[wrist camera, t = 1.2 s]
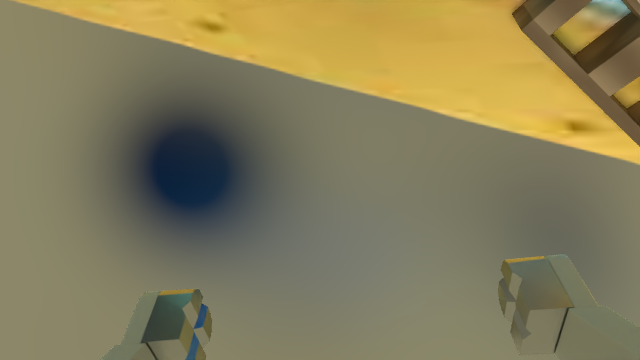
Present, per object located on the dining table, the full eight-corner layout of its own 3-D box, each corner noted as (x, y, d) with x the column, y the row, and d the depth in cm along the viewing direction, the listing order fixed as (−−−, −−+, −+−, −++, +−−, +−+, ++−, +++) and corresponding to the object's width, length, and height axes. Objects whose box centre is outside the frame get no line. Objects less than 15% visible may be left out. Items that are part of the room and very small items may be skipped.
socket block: (628, -93, 36) (652, -83, 32) (744, 54, 41) (774, 75, 38) (511, 14, 42) (522, 31, 39) (627, 128, 48) (644, 151, 44)
